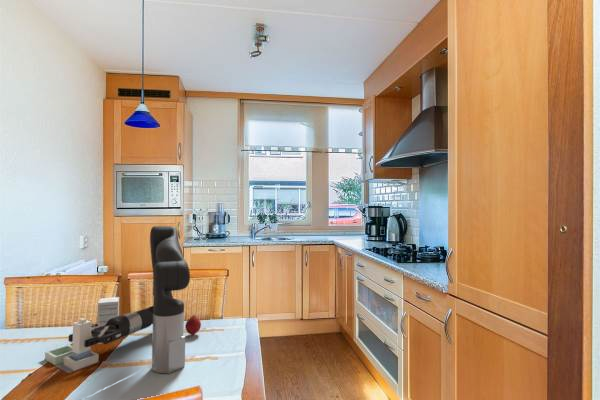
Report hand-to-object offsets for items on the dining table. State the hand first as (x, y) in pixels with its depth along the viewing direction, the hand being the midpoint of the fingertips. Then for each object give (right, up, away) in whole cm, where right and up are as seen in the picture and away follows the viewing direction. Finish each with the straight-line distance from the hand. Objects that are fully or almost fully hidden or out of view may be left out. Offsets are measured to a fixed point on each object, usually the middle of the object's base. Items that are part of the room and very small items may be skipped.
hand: (76, 341), depth 105 cm
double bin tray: (-4, -8, +3) cm, 9 cm away
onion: (+28, -9, +27) cm, 40 cm away
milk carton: (+1, -7, +1) cm, 8 cm away
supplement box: (-8, -9, +30) cm, 33 cm away
